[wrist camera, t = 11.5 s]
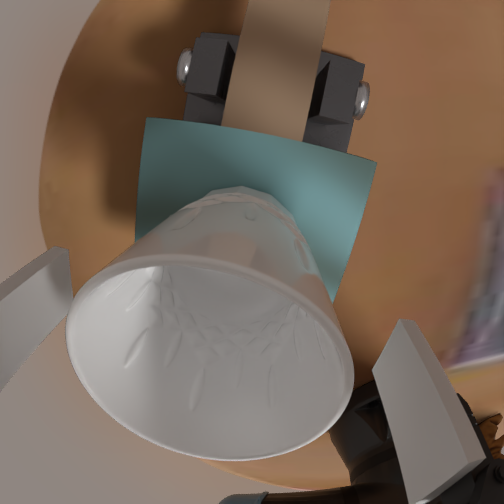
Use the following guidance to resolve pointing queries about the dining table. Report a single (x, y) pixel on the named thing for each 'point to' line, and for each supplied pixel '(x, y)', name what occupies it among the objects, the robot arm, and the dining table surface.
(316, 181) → the balance beam
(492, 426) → the stuffed squirrel
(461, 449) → the robot arm
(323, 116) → the beam stand
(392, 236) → the dining table surface
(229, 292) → the white cup
